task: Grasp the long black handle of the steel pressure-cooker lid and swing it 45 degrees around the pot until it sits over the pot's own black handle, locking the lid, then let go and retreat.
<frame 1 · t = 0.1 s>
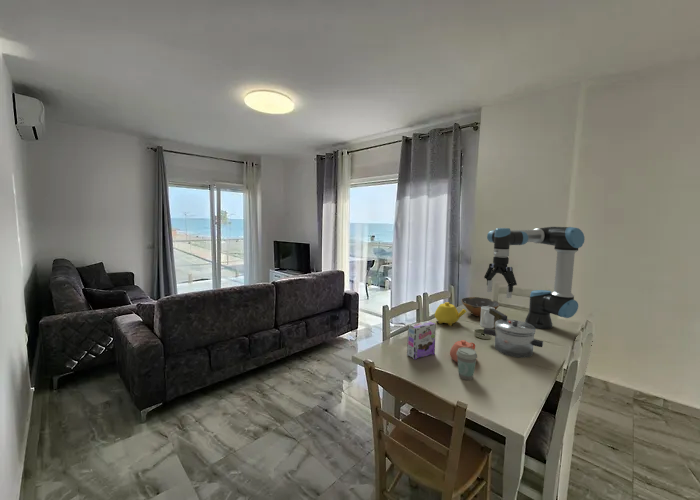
hand: (498, 294, 167), 28 cm above the table, fingers open, 13 cm apart
mug: (485, 326, 195), on the table
candy box: (420, 355, 155), on the table
bowl: (479, 315, 218), on the table
teapot: (449, 323, 202), on the table
coffee cup: (465, 377, 134), on the table
lid: (507, 319, 167), point 14 cm above the table, hinge at 45.0°
pot: (513, 349, 161), on the table
sugar bowl: (463, 360, 150), on the table
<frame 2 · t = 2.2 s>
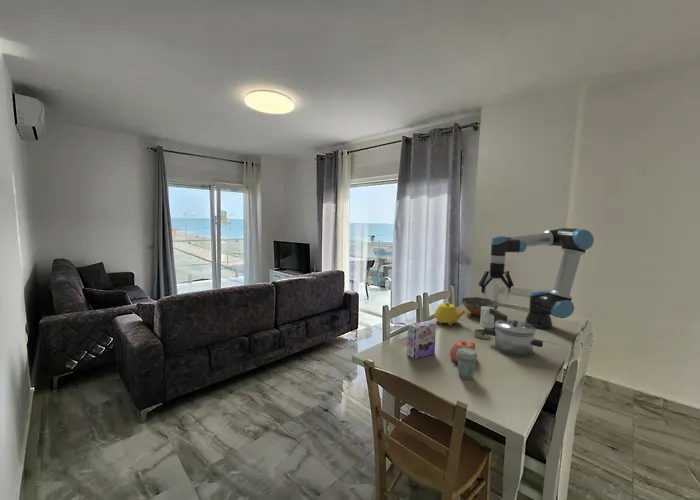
hand: (495, 298, 178), 23 cm above the table, fingers open, 13 cm apart
nothing on the table moved.
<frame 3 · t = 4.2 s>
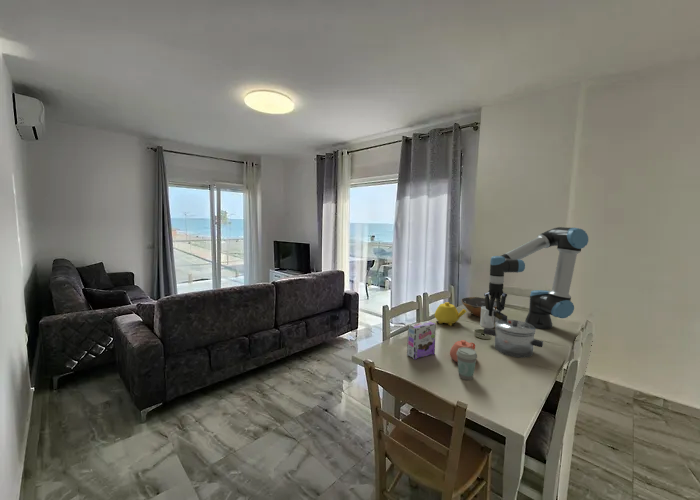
hand: (494, 321, 180), 9 cm above the table, fingers closed on lid, 3 cm apart
lid: (507, 319, 167), point 14 cm above the table, hinge at 44.9°, touching gripper
everything else where it was.
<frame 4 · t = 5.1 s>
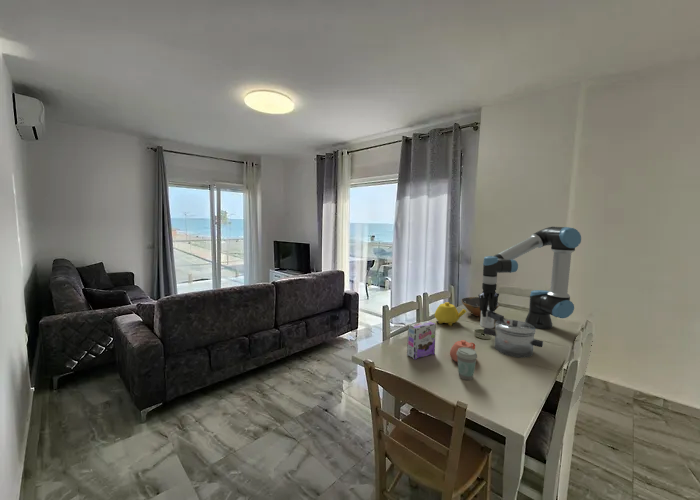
hand: (487, 321, 179), 9 cm above the table, fingers closed on lid, 3 cm apart
lid: (504, 320, 166), point 14 cm above the table, hinge at 31.8°, touching gripper
everything else where it was.
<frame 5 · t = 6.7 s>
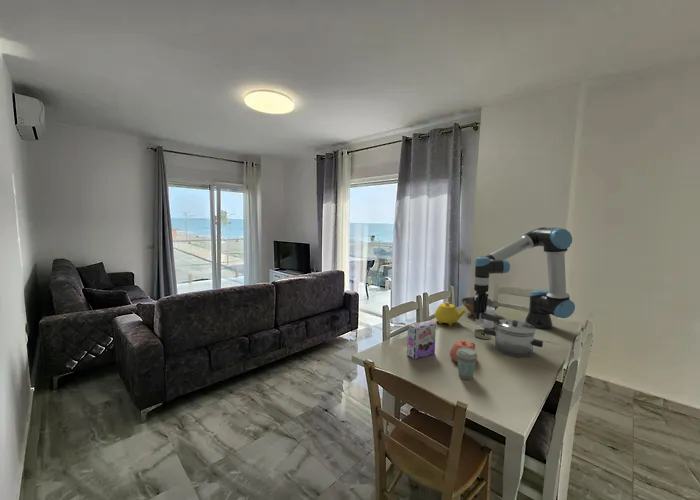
hand: (479, 323, 176), 9 cm above the table, fingers closed on lid, 3 cm apart
lid: (501, 320, 165), point 14 cm above the table, hinge at 11.6°, touching gripper
everything else where it was.
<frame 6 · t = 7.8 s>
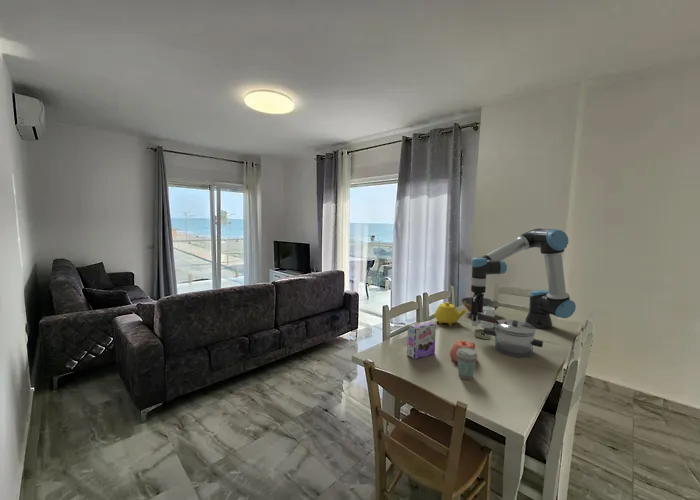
hand: (476, 324, 173), 9 cm above the table, fingers open, 5 cm apart
lid: (501, 321, 164), point 14 cm above the table, hinge at 0.2°
everything else where it was.
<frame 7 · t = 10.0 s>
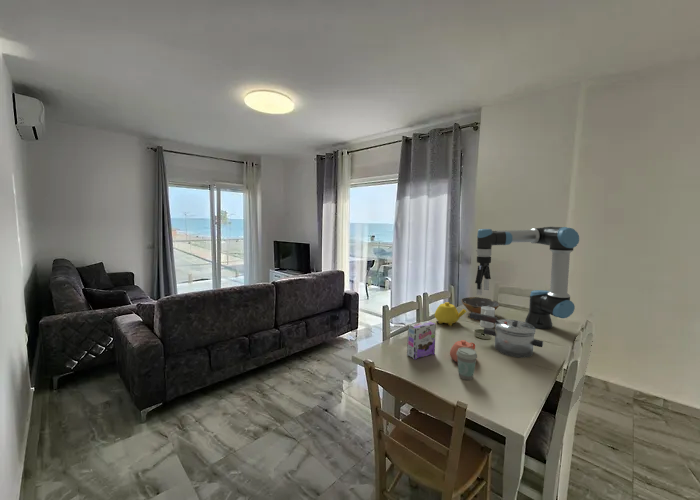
hand: (482, 292, 175), 27 cm above the table, fingers open, 13 cm apart
nothing on the table moved.
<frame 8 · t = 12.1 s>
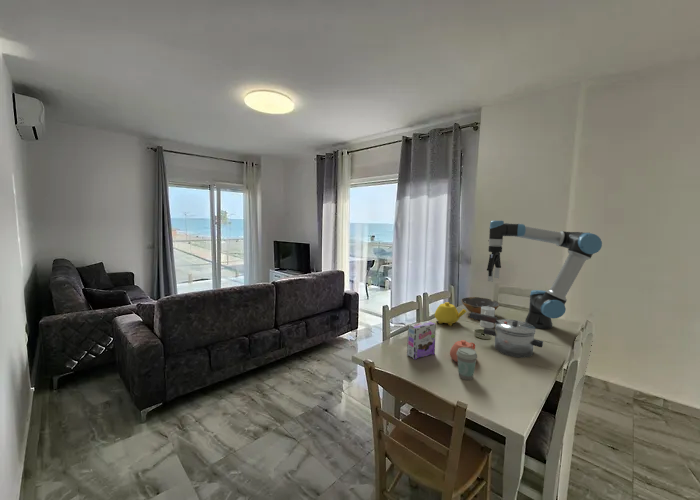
hand: (493, 279, 188), 32 cm above the table, fingers open, 13 cm apart
nothing on the table moved.
at the end: lid at +0° (first picture: +45°); the gripper is holding nothing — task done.
